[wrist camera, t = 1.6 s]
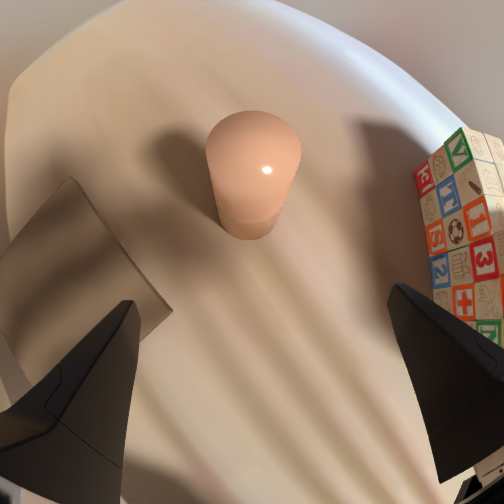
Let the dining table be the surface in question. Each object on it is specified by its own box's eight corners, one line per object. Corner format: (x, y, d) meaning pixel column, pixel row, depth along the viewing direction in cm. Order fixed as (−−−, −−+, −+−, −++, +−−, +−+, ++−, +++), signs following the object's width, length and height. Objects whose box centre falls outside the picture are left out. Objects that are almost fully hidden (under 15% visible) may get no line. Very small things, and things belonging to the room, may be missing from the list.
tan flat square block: (173, 310, 22) (169, 310, 21) (62, 413, 20) (54, 417, 18) (77, 182, 24) (70, 176, 23) (-10, 286, 22) (-19, 284, 20)
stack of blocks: (410, 171, 26) (480, 104, 14) (451, 176, 26) (520, 123, 14) (431, 382, 22) (525, 406, 10) (473, 368, 22) (559, 378, 10)
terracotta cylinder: (290, 213, 24) (320, 151, 15) (246, 252, 24) (251, 209, 14) (249, 173, 25) (255, 97, 15) (206, 209, 24) (186, 145, 14)
